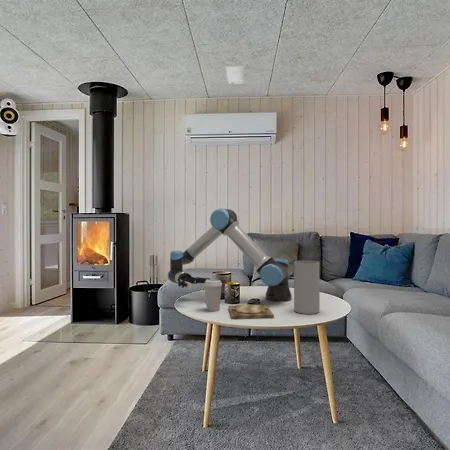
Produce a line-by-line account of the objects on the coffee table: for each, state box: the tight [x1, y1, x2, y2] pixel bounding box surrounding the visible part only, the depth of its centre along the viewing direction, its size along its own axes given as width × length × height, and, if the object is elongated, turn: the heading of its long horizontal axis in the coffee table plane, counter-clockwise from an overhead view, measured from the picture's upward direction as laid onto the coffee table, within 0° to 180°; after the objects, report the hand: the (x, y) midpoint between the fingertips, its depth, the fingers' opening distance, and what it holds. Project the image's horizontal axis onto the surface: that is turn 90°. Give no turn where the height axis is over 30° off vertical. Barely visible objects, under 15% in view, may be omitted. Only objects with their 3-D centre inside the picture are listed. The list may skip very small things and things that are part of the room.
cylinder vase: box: [293, 260, 321, 315], centre depth 183 cm, size 12×12×25 cm
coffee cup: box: [203, 279, 223, 312], centre depth 187 cm, size 10×10×15 cm
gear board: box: [227, 303, 275, 320], centre depth 181 cm, size 20×20×2 cm
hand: (202, 284), depth 196 cm, fingers open, 13 cm apart
